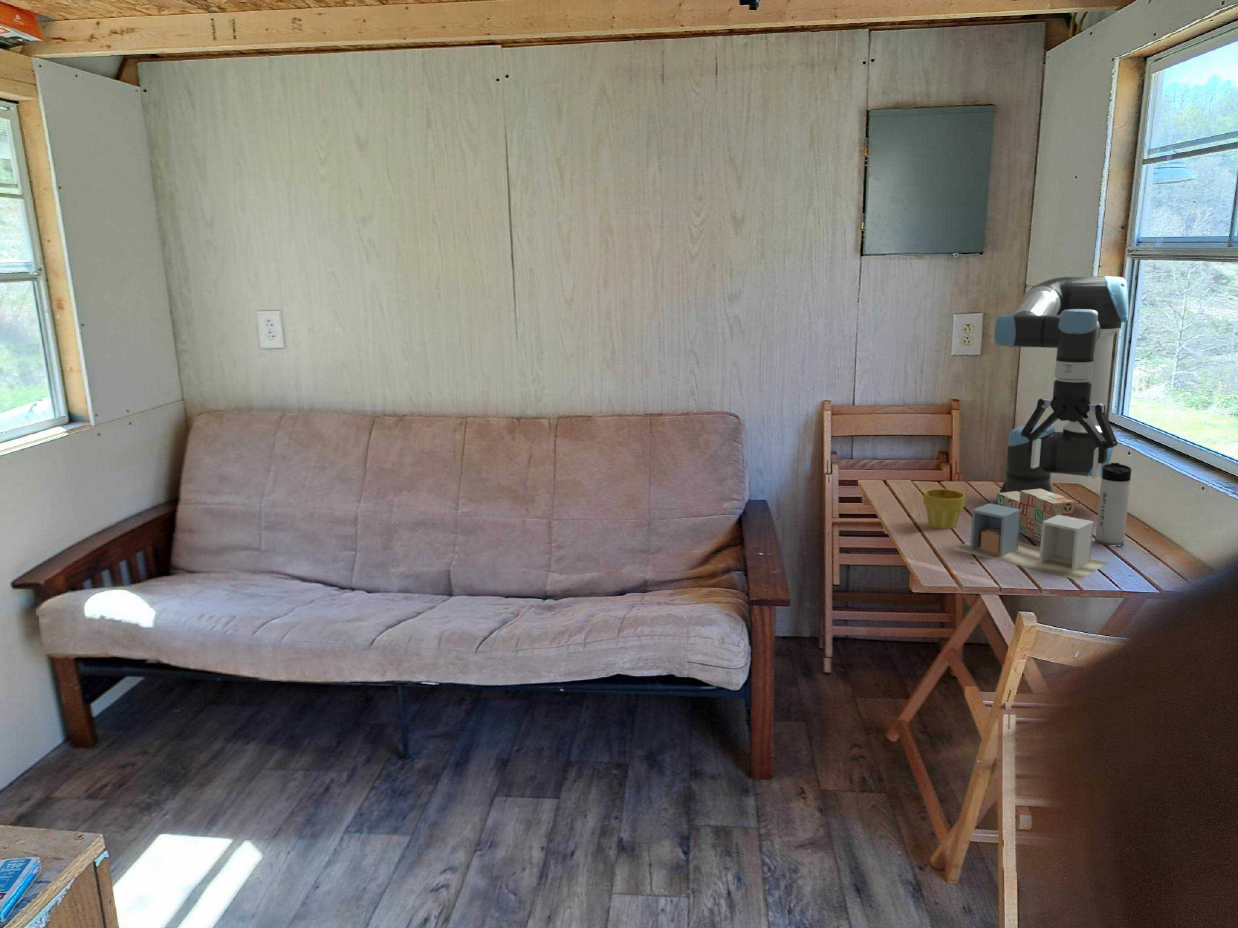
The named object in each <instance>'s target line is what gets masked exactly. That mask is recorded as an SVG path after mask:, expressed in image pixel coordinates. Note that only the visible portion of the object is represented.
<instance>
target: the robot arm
mask: <svg viewBox="0 0 1238 928" xmlns="http://www.w3.org/2000/svg"><path fill="white" fill-rule="evenodd" d="M1129 316H1130V315H1129V293H1128V283H1127V280H1126V279H1125V278H1124V277H1121V276H1109V275H1101V276H1098V275H1097V276H1095V275H1094V276H1062V277H1055V278H1051V279H1048V280H1045V281H1042V282H1040V283H1037V284H1036V285H1034V286H1032V287H1031V288H1030V289H1028V290H1027V291H1026V292H1025V293H1024V295H1023V296H1022V298H1021V301H1020V306H1019V307H1018V309H1017V310H1016V311H1015V312H1014V314H1011V313H1008V314H1001V315H999V316H997V318H996V320H995V325H994V331H993V334H994V335H993V338H994V339H993V340H994V343H995V345H997V346H998V347H1008V348H1049V349H1051V348H1052V349H1056V358H1055V369H1054V378H1056V379H1055V380H1054V381H1053V391H1052V399H1048V398H1047V397H1041V398H1039V399H1037V404H1036V408H1035V410H1034V411H1033V412H1032V415H1030V417H1029V419H1028V420H1027V422H1026V424H1025V425H1024V426H1018V427H1015V428H1013V429H1011V431H1010V432H1009V435H1008V440H1007V441H1008V442H1007V445H1006V446H1007V456H1006V468H1005V469H1006V470H1005V478H1004V481H1003V483H1002V485H1001V487H1000V490H999V492H998V493H1004V492H1013V491H1018V492H1020V491H1022V490H1032V489H1043V490H1046V491H1048V492H1052V493H1054V491H1053V487H1052V484H1051V476H1052V475H1051V473H1052V474H1062V475H1073V476H1074V475H1075V476H1083V477H1086V478H1089V477H1091V478H1092V479H1097V478H1099V477H1101V478H1102V475H1103V474H1102V471H1103V466H1104V465H1106V464H1111V460H1112V456H1113V452H1114V448H1115V447H1117V446H1118V444H1119V443H1118V440H1117V436H1115V435H1116V434H1115V433H1114V430H1113V428H1112V425H1111V424H1110V421H1109V419H1108V416H1107V408H1108V396H1109V388H1110V387H1109V386H1110V379H1111V377H1110V376H1111V367H1112V357H1113V345H1114V336H1115V334H1117V332H1118V331H1120V330H1121V329H1122V323H1126V322H1128V321H1129ZM1049 407H1050V408H1051V409H1052V411H1053V412H1052V413H1051V414H1050V415H1048V416H1047V418H1046V419H1045V420H1044V421H1043V422H1042V423H1041V424H1038V422H1039V421H1040V420H1041V417H1042V416H1043V414H1044V412H1045V411H1046V409H1048V408H1049ZM1057 420H1059V421H1062V422H1063V421H1064V422H1065V421H1067V423H1065V424H1064V425H1063V426H1062V427H1063V428H1062V431H1056V427H1055V426H1053V424H1054V423H1055V422H1057Z"/></svg>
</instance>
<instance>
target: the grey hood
mask: <svg viewBox="0 0 1238 928" xmlns="http://www.w3.org/2000/svg"><path fill="white" fill-rule="evenodd" d="M1093 532H1094V521H1092V520H1088V519H1083V518H1076V517H1074V516H1073V517H1068V516H1063V515H1056V516H1054V517H1052V518H1050V519H1047V520H1045V521H1043V522H1042V532H1041V542H1040V546H1039V547H1040V556H1039V563H1043V562H1045V561H1047V560H1049V559H1051V558H1053V557H1055V556H1058V557H1063V558H1067V559H1071V560H1072V570H1071V571H1076V570H1077V569H1079V568H1081V567H1083V566H1085V565H1087V564H1088V563H1090V559H1091V554H1092V553H1091V551H1092V541H1093Z"/></svg>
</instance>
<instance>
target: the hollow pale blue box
mask: <svg viewBox="0 0 1238 928" xmlns="http://www.w3.org/2000/svg"><path fill="white" fill-rule="evenodd" d="M1020 516H1021V510H1020V509H1015V508H1010V507H1005V506H1000V505H997V504H995V503H990V502H989V503H987V504H984V505H981V506H979V507H976V508H974V509H972V515H971V529H970V530H971V532H970V541H971V543H970V549H974V548H977V547H979V546H981V534H982V531H984V530H986V529H988V528H996V529H1000V530H1001V538H1000V551H999V556H1001V557H1002V556H1004V555H1006V554H1008V553H1010V552H1012V551H1014V550H1017V549H1018V542H1020V541H1019V539H1020V532H1019V528H1020Z"/></svg>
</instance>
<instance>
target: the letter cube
mask: <svg viewBox="0 0 1238 928" xmlns="http://www.w3.org/2000/svg"><path fill="white" fill-rule="evenodd" d="M1000 538H1001V530H1000V529H996V528H988V529H986V530H984V531H982V534H981V549H983V550H987V551H991V552H996V553H999V551H1000Z"/></svg>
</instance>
